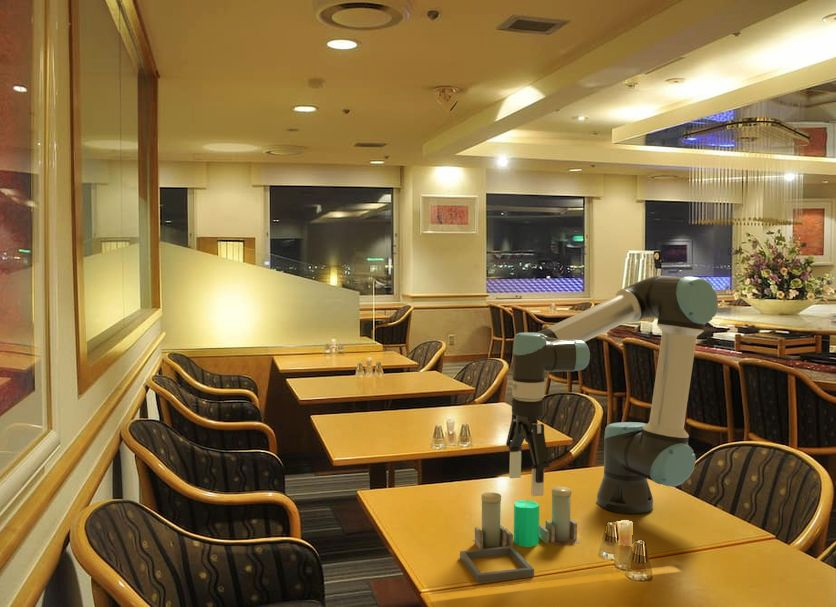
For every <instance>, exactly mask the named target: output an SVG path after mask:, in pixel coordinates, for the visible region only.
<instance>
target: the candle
mask: <svg viewBox="0 0 836 607" xmlns="http://www.w3.org/2000/svg"><path fill="white" fill-rule="evenodd" d="M525 498H526V500H525V499H519V500H516V501H515V502H514V503H513V544H516V545H517V546H520V547H525V548H526V547H527V548H528V547H530V548H532V547H535V546H538V544H539V543H540V537H539V525H540V504H539V503H537V502H536V501H534V500H528V497H525Z"/></svg>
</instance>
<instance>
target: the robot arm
mask: <svg viewBox="0 0 836 607" xmlns="http://www.w3.org/2000/svg"><path fill="white" fill-rule="evenodd" d="M718 307H719V298H718V295H717V292H716V290H715V288H714V287H713V285H712V284H711V283H710V282H709V281H707V280H706V279H704V278H700V277H696V276H687V275H686V276H685V275H684V276H683V275H680V276H678V275H655V276H651V277H648V278H645V279H642V280H639V281H638V282H636V283H633V284H630V285H628V286H627V287H624V288H622V289H619V290H618V291H617V292H616V294H615V295H614V296H613V297H611V298H608V299H607V300H605V301H603V302H602V301H601V303H598V304H596V305H594V306H591V307H589V308H587V309H586V310H584V311H581V312H579V313H578V312H577V314H575V315H572V316H570V317H568V318H565V319H563V320H562V321H559V322H557V323H554V324H553V325H551V326H549V327H546V328H544V329H542V330H541V329H540V330H539V331H536V332H528V331H527V332H518V333H516V334H515V335H514V337H513V344H512V384H511V385H510V388H511V389H512V393H511V394H512V397H513V398H511V421H510V426H509V430H508V434H507V438H506V443H505V445H506V447H508V451H509V473H508V474H509V479H521V476H522V472H521V471H522V451H523V447H522V445H523V443H524V441H525V442H526V443H527V445H528V448H529V453H530V457H531V460H532V466H531V467H530V468H531V485H530V486H531V489H530V491H531V492H530V494H531V497H539V496H540V497H541V496H544V486H545V484H544V483H545V469H548V468H550V461H549V455H548V450H547V444H546V436H545V425H544V423H538V422H539V421H538V418H539V417H542V416H543V415H544V414H545V411H544V409H545V401H544V400H543V399H544V398H545V390H546V388H545V387H546V385H545V384H546V380H545V376H546V373H555V372H556V373H557V372H558V373H559V372H561V373H562V372H575V371H576V372H577V371H582V370H585V369H586V368H587V367H588V365H589V364H590V359H591V357H590V355H591V352H590V349H589V346H588V345H587V343H586V342H587V341H589V340H591V339H594V338H596V337H597V336H600V335H602V334H604V333H606V332H608V331H611V330H613V329H615V328H617V327H619V326H621V325H623V324H625V323H627V322H629V323H636V322H639V321H640V320H644V319H653V318H654V319H657V324H656V325H657V327H658V328H659V329H660V331H661V338H660V344H659V345H660V346H659V349H658V350H659V352H658V359H657V366H656V372H655V381H654V386H653V394H652V402H651V406H650V414H649V421H648V423H646V422H645V423H644V422H637V421H635V422H633V421H627V422H626V421H625V422H623V421H622V422H613V423H610V424H607V425H606V427H605V430H604V437H603V441H604V443H603V451H604V452H603V478H602V479H601V483H600V486H599V488H598V491H597V494H596V503H597V505H598V506H599V507H600V508H603V509H604V510H608V511H610V512H613V513H618V514H628V515H629V514H631V515H632V514H633V515H639V514H645V513H648V512H651V511H652V510H653V509H654V498H653V494H652V491H651V488H650V485H649V481H648V480H650V481H651V482H654V483H655V484H657V485H663V486H664V487H669V488H673V487H678V486H680V485H682V484H683V483H685V481H686V480H688V479H689V478H690V476H691V475H692V474H693V472H694V469H695V467H696V466H695V465H696V454H695V453H694V449H693V448H692V447H691V446H690V445H689V438H690V435H689V434H688V432H687V431H686V429H685V428H684V427H685V420H686V416H687V415H686V414H687V408H688V401H689V394H690V388H691V386H690V385H691V378H692V372H693V366H694V365H693V364H694V359H695V352H696V351H695V350H696V345H697V338H698V336H699V335H701V334H702V333H703V332H704V331H705V326H706V324H707V323H710V322H711V321H712V320H713V318H714V317H716V314H717V312H718Z"/></svg>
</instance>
